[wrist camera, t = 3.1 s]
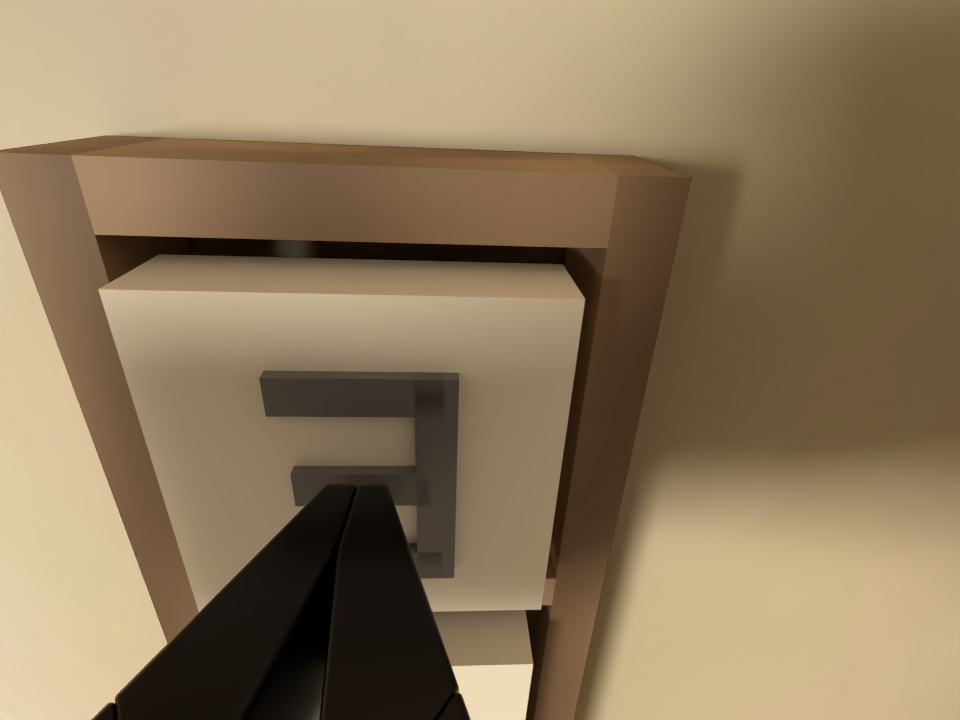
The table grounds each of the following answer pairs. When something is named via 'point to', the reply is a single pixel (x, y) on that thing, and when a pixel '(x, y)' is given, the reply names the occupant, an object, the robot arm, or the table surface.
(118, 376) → the tile rack
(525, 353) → the tile
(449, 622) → the tile
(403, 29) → the table surface
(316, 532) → the robot arm
